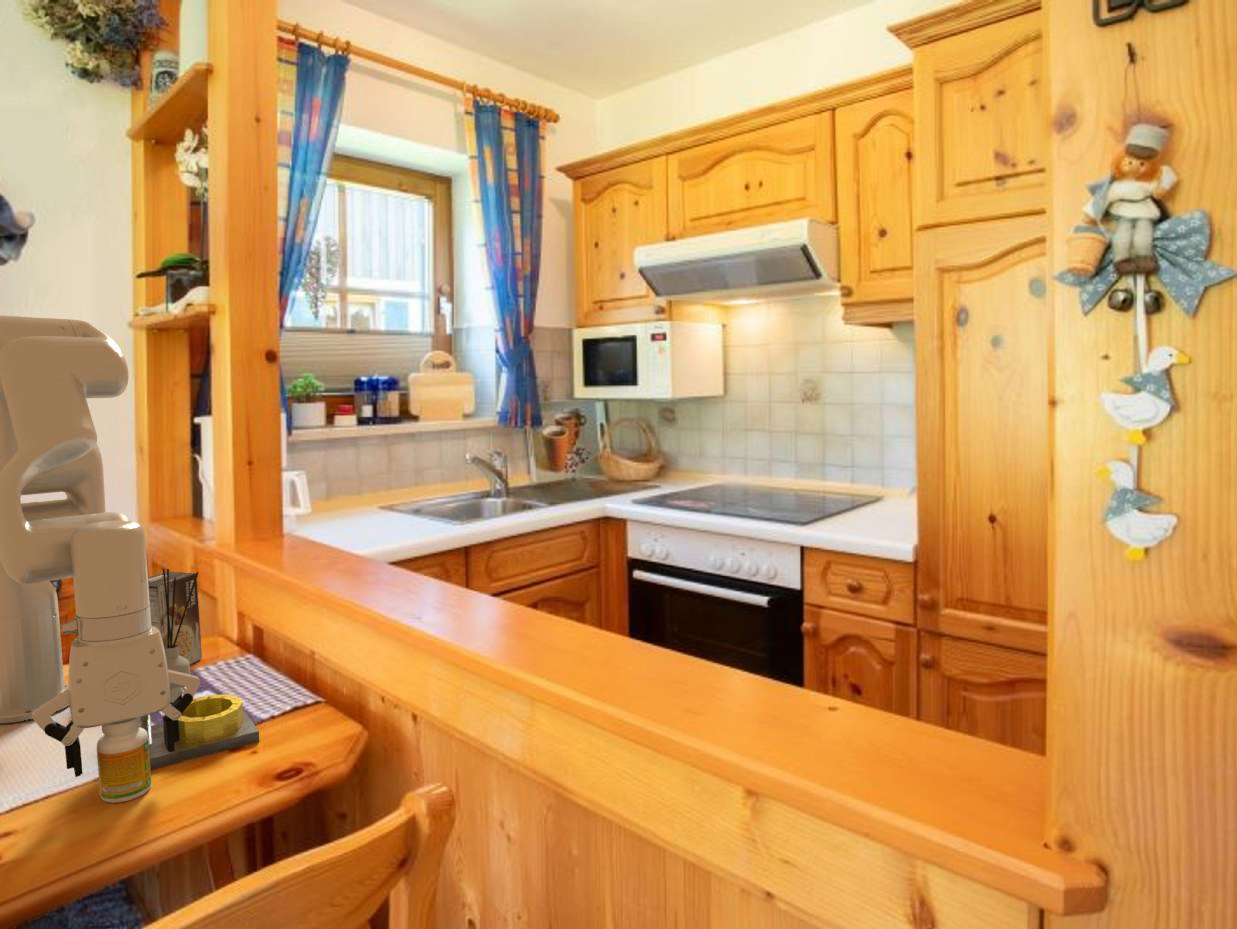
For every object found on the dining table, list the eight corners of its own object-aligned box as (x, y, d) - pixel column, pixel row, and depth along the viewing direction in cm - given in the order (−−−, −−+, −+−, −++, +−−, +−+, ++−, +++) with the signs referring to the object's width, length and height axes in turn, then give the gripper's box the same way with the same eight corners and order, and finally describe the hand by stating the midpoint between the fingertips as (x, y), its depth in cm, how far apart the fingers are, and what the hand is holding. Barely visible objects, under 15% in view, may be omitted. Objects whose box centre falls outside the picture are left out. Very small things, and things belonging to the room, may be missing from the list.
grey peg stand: (117, 778, 101) (110, 677, 99) (108, 746, 109) (101, 652, 108) (259, 741, 111) (254, 648, 109) (240, 714, 120) (236, 628, 118)
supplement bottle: (156, 793, 97) (151, 718, 96) (104, 809, 94) (99, 731, 92) (146, 776, 101) (141, 704, 100) (96, 791, 98) (91, 716, 96)
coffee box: (172, 656, 144) (167, 570, 142) (203, 659, 142) (198, 572, 141) (132, 675, 135) (126, 583, 133) (164, 678, 133) (158, 585, 132)
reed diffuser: (151, 686, 130) (144, 567, 128) (197, 676, 134) (191, 561, 132) (164, 706, 122) (156, 580, 120) (212, 694, 127) (206, 573, 124)
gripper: (26, 647, 87) (39, 795, 88) (201, 617, 97) (209, 750, 99) (24, 630, 92) (37, 769, 94) (189, 604, 103) (198, 729, 105)
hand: (125, 759), depth 97 cm, fingers open, 9 cm apart
